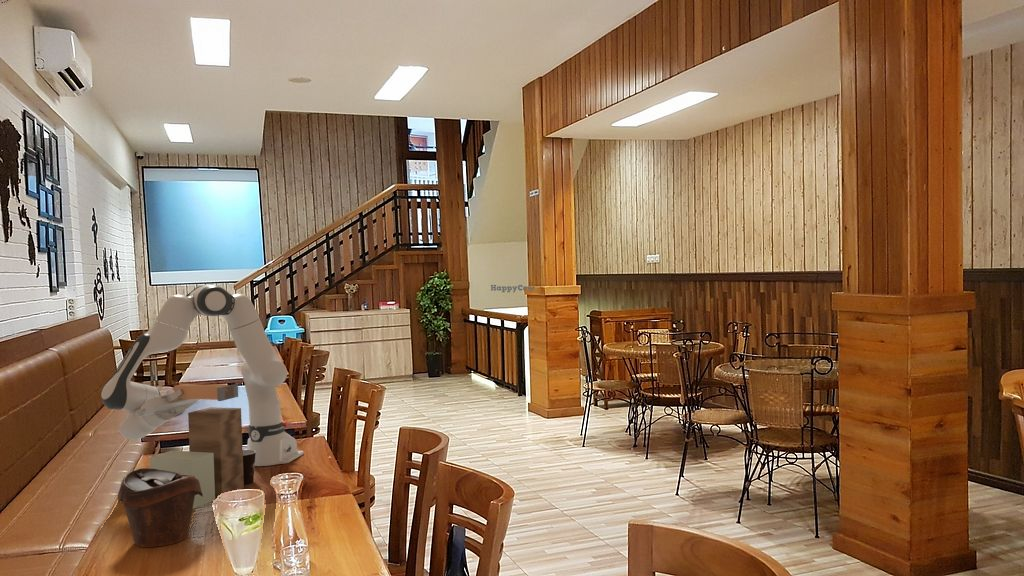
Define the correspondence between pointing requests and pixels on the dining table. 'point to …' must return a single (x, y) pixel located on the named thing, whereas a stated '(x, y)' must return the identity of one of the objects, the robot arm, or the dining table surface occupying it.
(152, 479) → the brown round container
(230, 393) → the orange brown flat block
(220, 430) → the stand
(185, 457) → the grey green block
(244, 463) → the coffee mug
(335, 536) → the dining table surface
